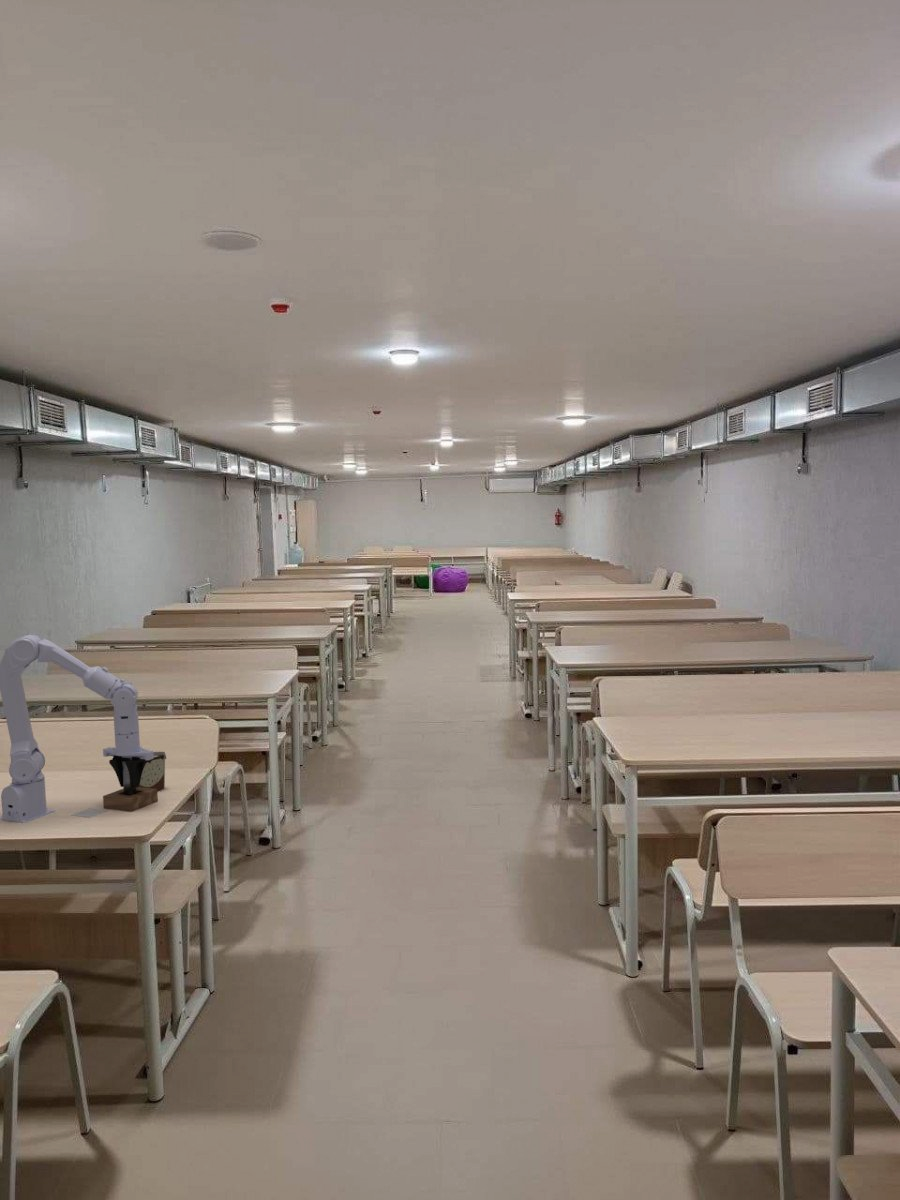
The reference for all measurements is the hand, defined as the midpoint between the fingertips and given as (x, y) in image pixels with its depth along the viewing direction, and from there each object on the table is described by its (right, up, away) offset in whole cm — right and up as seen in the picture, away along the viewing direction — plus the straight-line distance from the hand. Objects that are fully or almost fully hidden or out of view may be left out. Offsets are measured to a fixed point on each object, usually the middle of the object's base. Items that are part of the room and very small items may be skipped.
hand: (130, 786), depth 221 cm
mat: (-8, -6, -5) cm, 11 cm away
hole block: (0, -5, 0) cm, 5 cm away
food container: (-1, -5, +11) cm, 12 cm away
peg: (0, -3, 0) cm, 2 cm away
